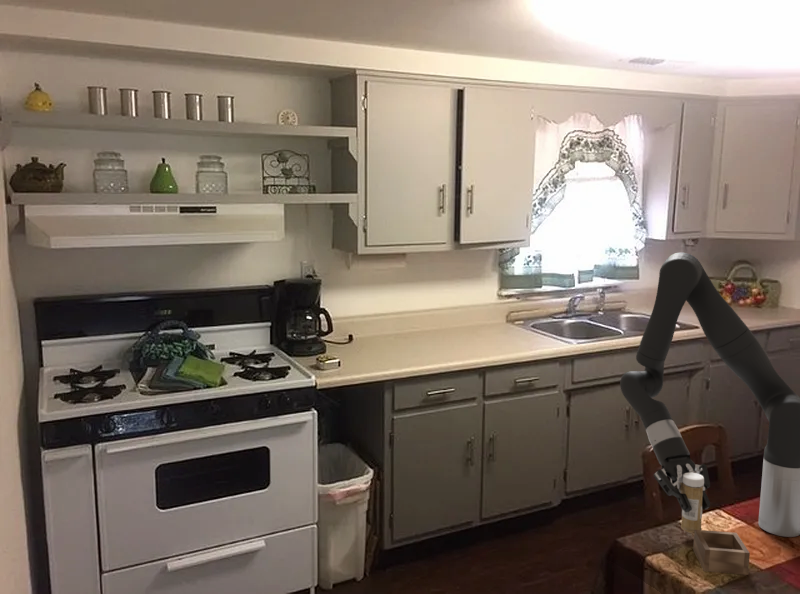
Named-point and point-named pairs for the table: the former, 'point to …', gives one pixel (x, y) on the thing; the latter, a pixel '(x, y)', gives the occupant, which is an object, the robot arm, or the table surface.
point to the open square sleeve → (721, 552)
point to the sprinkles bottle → (693, 501)
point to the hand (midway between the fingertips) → (697, 509)
